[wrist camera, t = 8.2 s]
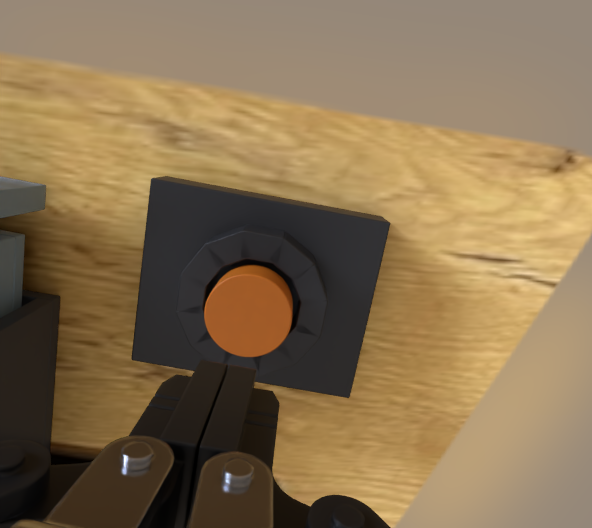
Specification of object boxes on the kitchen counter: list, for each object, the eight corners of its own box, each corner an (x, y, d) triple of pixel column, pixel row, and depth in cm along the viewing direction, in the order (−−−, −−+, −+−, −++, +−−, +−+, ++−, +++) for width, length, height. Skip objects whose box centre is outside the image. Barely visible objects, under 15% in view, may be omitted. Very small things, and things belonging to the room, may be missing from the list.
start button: (206, 333, 21) (198, 349, 19) (218, 257, 20) (210, 267, 18) (285, 347, 21) (283, 364, 19) (299, 272, 20) (299, 283, 18)
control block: (145, 342, 25) (116, 377, 21) (165, 175, 23) (136, 180, 19) (345, 377, 25) (353, 418, 21) (382, 216, 23) (398, 228, 19)
